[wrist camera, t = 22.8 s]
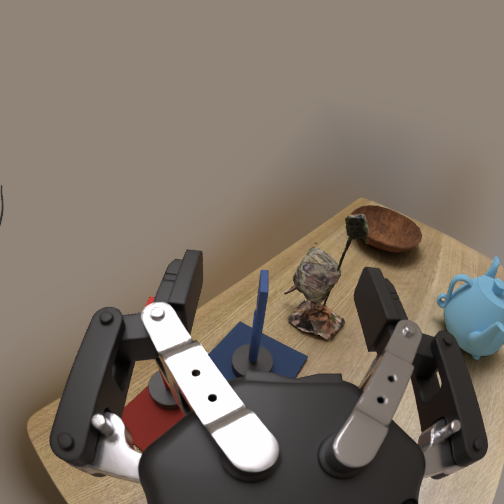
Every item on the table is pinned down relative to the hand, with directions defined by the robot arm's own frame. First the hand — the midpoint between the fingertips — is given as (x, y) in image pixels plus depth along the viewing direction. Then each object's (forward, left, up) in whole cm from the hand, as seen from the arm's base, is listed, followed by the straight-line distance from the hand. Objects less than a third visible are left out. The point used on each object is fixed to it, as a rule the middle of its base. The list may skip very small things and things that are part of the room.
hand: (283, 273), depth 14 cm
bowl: (+3, +60, -27) cm, 65 cm away
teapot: (+28, +36, -27) cm, 53 cm away
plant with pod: (-3, +24, -27) cm, 36 cm away
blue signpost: (-5, +10, -26) cm, 28 cm away
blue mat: (-6, +10, -27) cm, 29 cm away
